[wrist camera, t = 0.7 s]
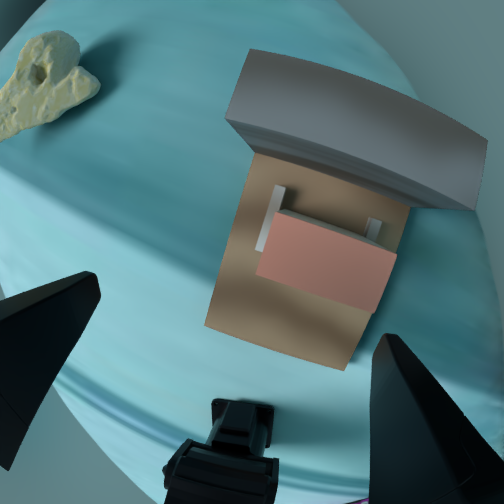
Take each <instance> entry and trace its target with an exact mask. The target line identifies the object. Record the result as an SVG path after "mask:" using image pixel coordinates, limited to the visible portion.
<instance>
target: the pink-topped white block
mask: <svg viewBox="0 0 504 504" xmlns="http://www.w3.org/2000/svg"><path fill="white" fill-rule="evenodd" d="M396 258H397V254H395V253H394V252H392V251H390V250H388V249H386V248H384V247H382V246H380V245H379V244H377V243H375V242H373V241H371V240H369V239H367V238H365V237H363V236H361V235H359V234H357V233H354V232H351V231H348V230H345V229H343V228H340V227H337V226H334V225H331V224H328V223H326V222H323V221H320V220H317V219H314V218H311V217H308V216H305V215H302V214H299V213H296V212H293V211H290V210H287V209H283V210H279V211H276V212H275V214H274V217H273V221H272V224H271V227H270V230H269V233H268V236H267V239H266V243H265V246H264V249H263V252H262V255H261V258H260V261H259V264H258V267H257V271H256V274H255V275H258V276H261V277H264V278H267V279H270V280H273V281H276V282H279V283H282V284H285V285H288V286H291V287H294V288H297V289H300V290H303V291H306V292H309V293H312V294H315V295H318V296H321V297H324V298H327V299H330V300H333V301H336V302H339V303H343V304H346V305H349V306H352V307H355V308H358V309H361V310H364V311H368V312H371V313H375V310H376V308H377V306H378V303H379V301H380V299H381V296H382V294H383V291H384V289H385V287H386V284H387V282H388V279H389V276H390V274H391V271H392V269H393V266H394V263H395V260H396Z"/></svg>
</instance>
